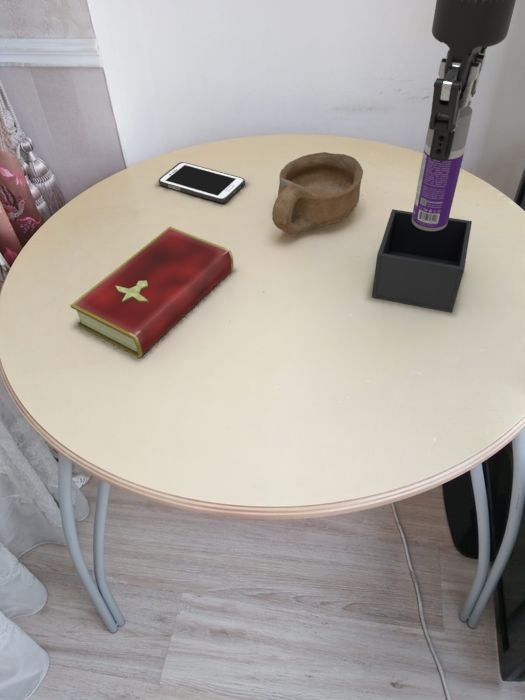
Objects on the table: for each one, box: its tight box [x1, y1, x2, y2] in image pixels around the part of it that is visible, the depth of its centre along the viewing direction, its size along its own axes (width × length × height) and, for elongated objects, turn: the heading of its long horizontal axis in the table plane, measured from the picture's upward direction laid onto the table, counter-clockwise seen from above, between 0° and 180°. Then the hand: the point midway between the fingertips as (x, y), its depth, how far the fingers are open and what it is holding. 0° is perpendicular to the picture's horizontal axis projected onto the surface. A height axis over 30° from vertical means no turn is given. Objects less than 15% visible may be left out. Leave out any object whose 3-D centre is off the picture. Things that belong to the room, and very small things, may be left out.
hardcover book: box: [69, 226, 234, 359], centre depth 81 cm, size 12×21×4 cm, turn 146°
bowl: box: [271, 151, 364, 234], centre depth 91 cm, size 18×14×10 cm
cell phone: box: [158, 161, 246, 204], centre depth 102 cm, size 8×15×1 cm, turn 60°
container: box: [412, 105, 473, 231], centre depth 69 cm, size 5×5×15 cm
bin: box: [371, 208, 473, 313], centre depth 80 cm, size 11×11×8 cm
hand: (445, 148), depth 67 cm, fingers closed on container, 4 cm apart
